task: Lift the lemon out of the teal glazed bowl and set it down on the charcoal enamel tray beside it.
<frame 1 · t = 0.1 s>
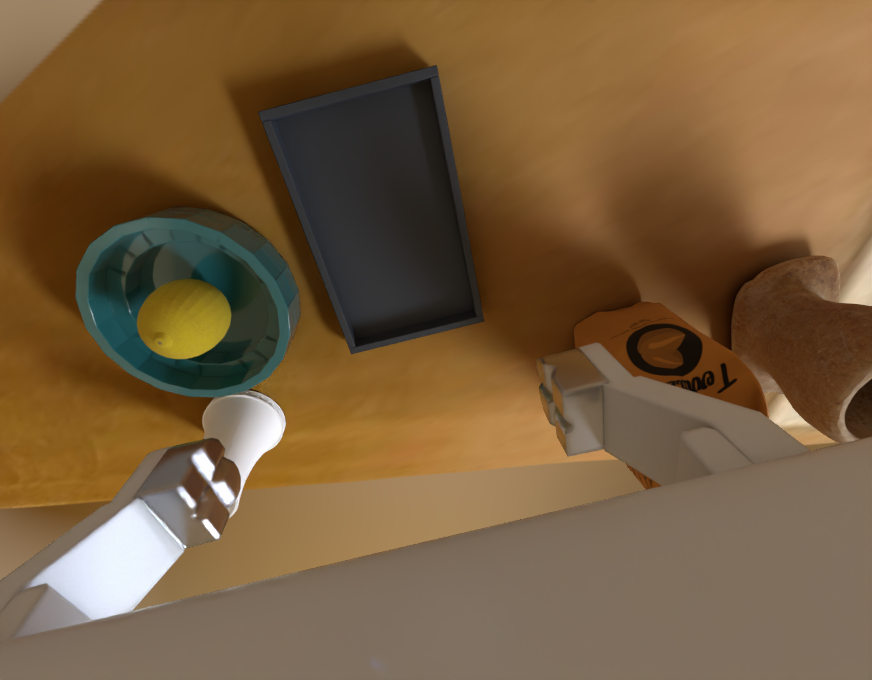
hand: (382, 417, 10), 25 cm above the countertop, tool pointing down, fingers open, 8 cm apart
bowl: (212, 295, 33), on the countertop
tray: (387, 226, 32), on the countertop
coffee package: (615, 353, 41), on the countertop
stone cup: (757, 327, 41), on the countertop
lemon: (210, 297, 33), resting on bowl
vase: (247, 418, 40), on the countertop
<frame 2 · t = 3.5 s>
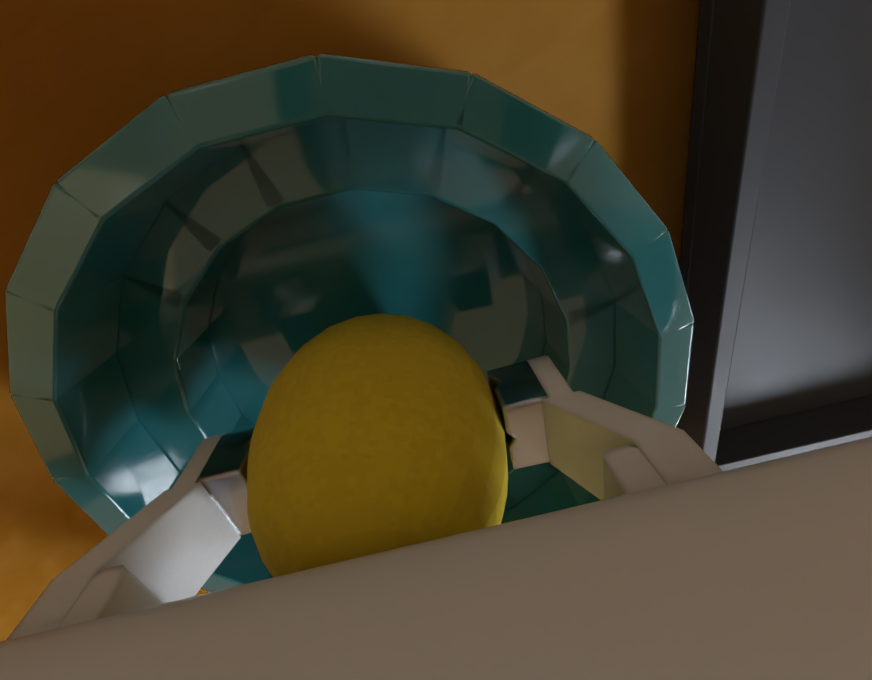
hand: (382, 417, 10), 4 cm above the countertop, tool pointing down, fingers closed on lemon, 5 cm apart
bowl: (385, 347, 13), on the countertop
lemon: (386, 351, 13), resting on bowl, touching gripper
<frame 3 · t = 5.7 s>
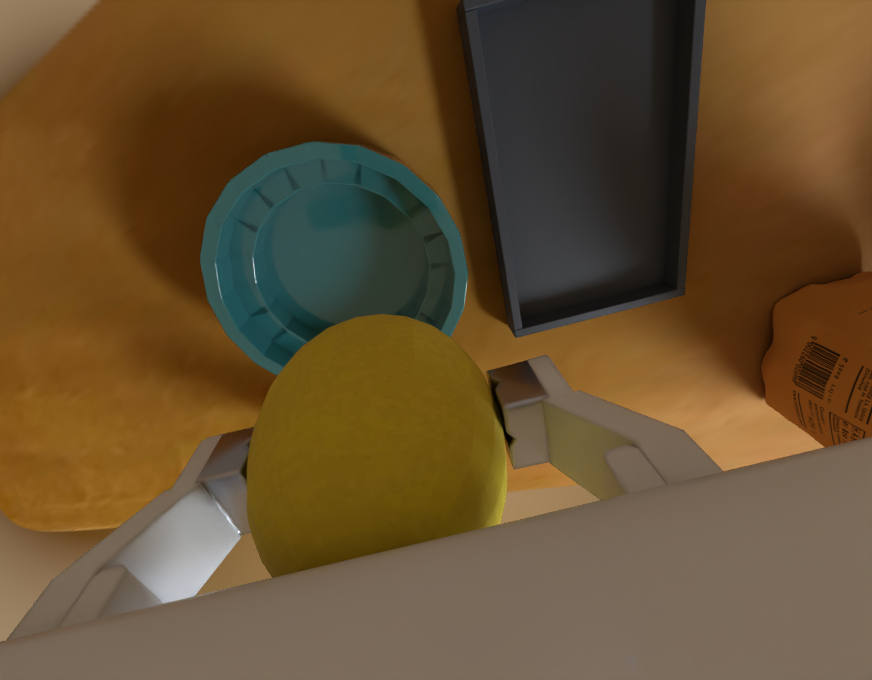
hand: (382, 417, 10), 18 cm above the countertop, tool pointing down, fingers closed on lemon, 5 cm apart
bowl: (348, 263, 26), on the countertop
tray: (580, 170, 25), on the countertop
coffee package: (811, 338, 33), on the countertop
lemon: (386, 352, 13), point 15 cm above the countertop, touching gripper
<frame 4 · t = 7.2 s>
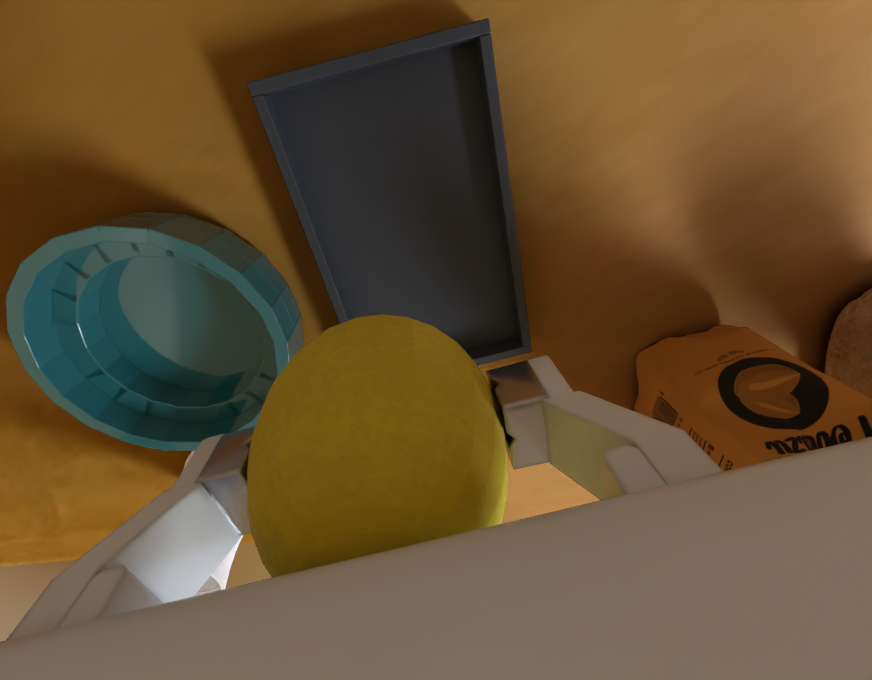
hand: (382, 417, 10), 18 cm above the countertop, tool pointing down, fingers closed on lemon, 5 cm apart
bowl: (192, 322, 27), on the countertop
tray: (414, 234, 25), on the countertop
coffee package: (682, 385, 34), on the countertop
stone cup: (853, 352, 34), on the countertop
lemon: (386, 352, 13), point 14 cm above the countertop, touching gripper
vase: (239, 465, 33), on the countertop
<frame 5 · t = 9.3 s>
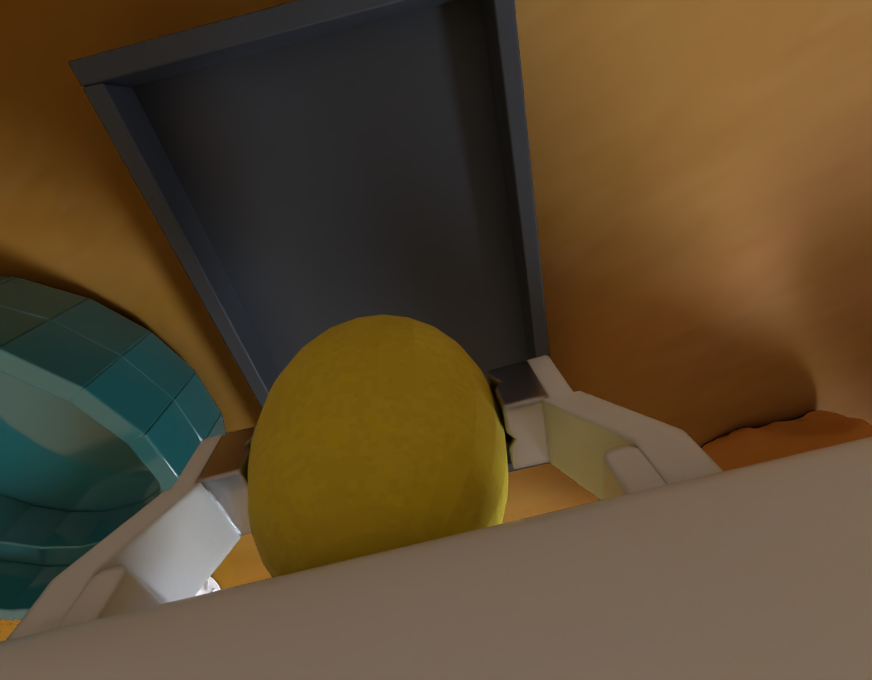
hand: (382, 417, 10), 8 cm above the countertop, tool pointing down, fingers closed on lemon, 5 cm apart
bowl: (61, 423, 18), on the countertop
tray: (387, 300, 17), on the countertop
coffee package: (754, 480, 25), on the countertop
lemon: (386, 352, 13), point 4 cm above the countertop, touching gripper
when the fingers open (3 cm above the countertop, at t = 10.9 s): lemon stays where it is, resting on tray.
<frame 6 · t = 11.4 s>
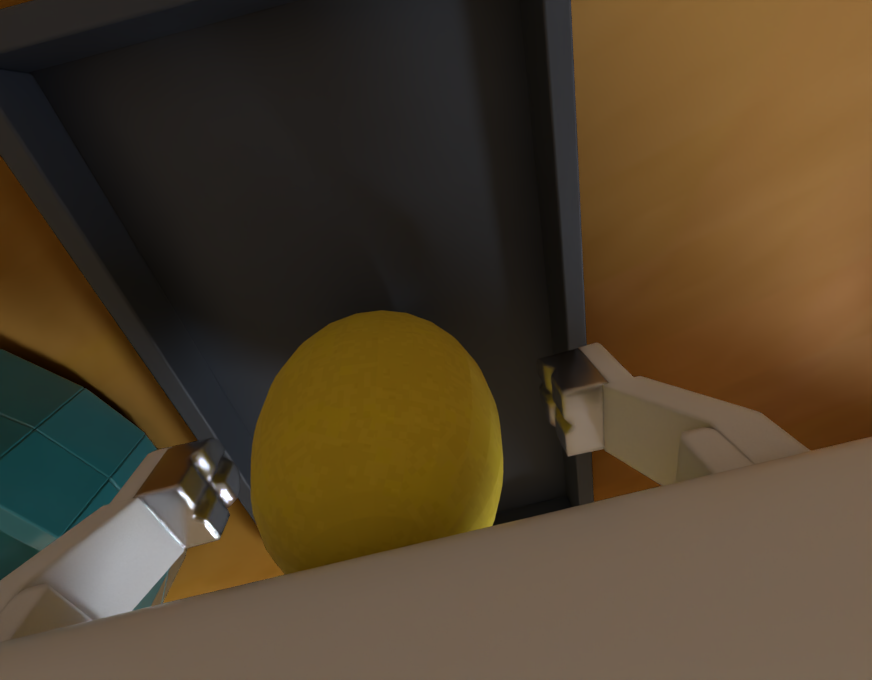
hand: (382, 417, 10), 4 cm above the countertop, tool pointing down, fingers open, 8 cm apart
tray: (385, 344, 13), on the countertop
lemon: (386, 348, 13), resting on tray
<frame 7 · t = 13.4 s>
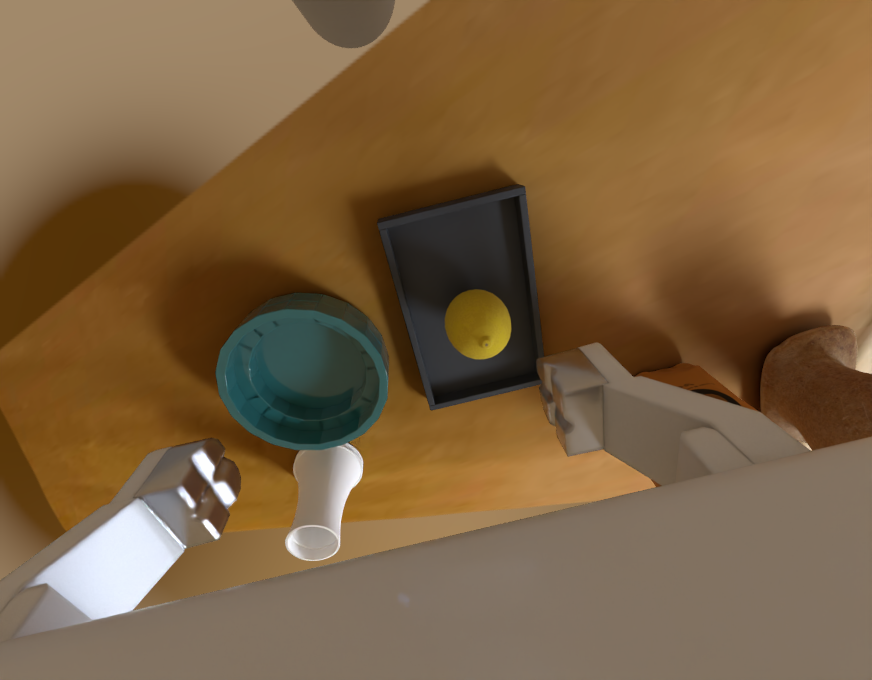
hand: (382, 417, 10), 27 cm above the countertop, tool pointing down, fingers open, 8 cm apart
bowl: (314, 361, 39), on the countertop
tray: (468, 304, 38), on the countertop
coffee package: (656, 405, 46), on the countertop
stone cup: (783, 382, 46), on the countertop
lemon: (469, 305, 37), resting on tray
vase: (329, 462, 45), on the countertop
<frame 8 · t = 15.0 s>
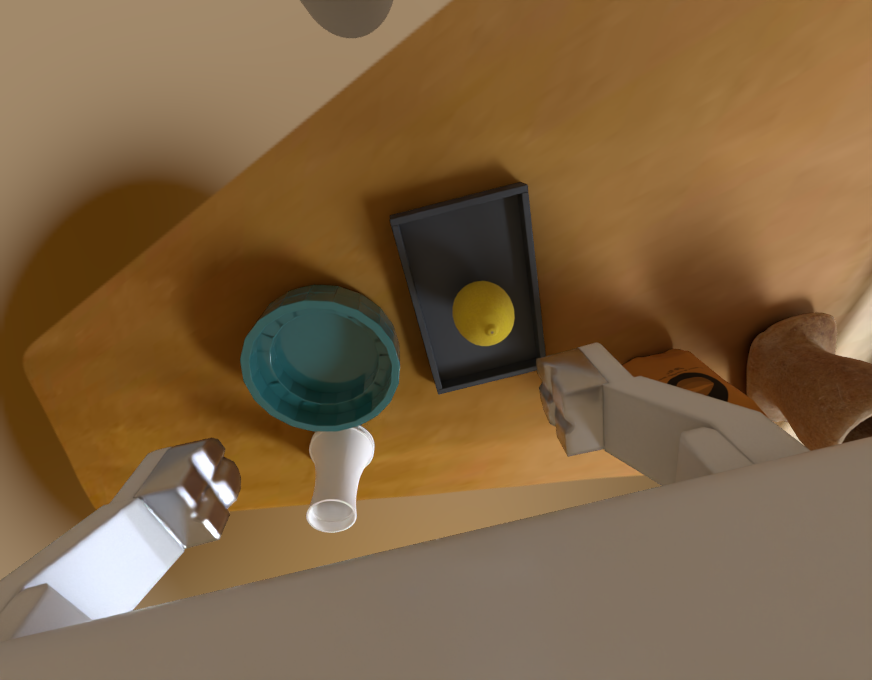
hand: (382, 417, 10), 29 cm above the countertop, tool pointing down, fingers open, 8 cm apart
bowl: (329, 349, 41), on the countertop
tray: (473, 294, 40), on the countertop
coffee package: (649, 389, 48), on the countertop
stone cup: (768, 366, 49), on the countertop
lemon: (474, 295, 40), resting on tray
vase: (343, 444, 48), on the countertop
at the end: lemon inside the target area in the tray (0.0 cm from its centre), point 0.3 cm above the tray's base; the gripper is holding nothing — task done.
